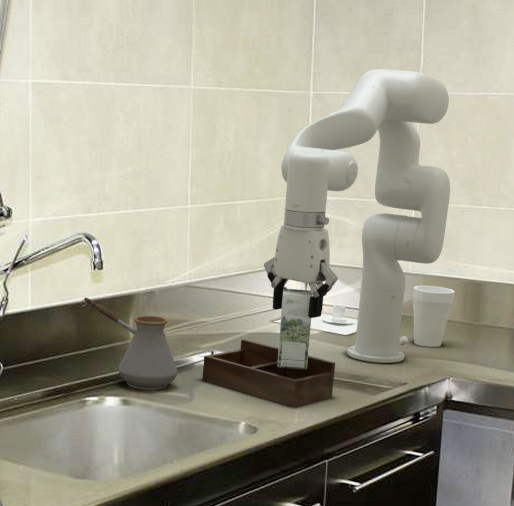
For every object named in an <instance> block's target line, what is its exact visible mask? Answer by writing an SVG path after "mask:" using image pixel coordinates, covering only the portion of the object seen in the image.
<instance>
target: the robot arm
mask: <svg viewBox="0 0 514 506" xmlns="http://www.w3.org/2000/svg"><path fill="white" fill-rule="evenodd" d="M449 99H450V98H449V91H448V90H447V87H446V86H445V84H444V83H443V82H441V81H440V80H437V79H435V78H434V77H431V76H430V75H428V74H425V73H422V72H420V71H416V70H415V71H414V70H403V69H387V68H375V69H370V70H368V71H365V72H364V73H363V74H362V75H361V76H360V77H359V79H358V80H357V82H356V83H355V85H354V87H352V89H351V91H350V92H349V94H348V95H347V96H346V98H345V100H344V101H343V103H342V104H341V106H340V108H339V109H338V110H336V111H334V112H331V113H329V114H327V115H325V116H323V117H321V118H320V119H317V120H315V121H313V122H312V123H309V124H307V125H306V126H305V127H303V128H302V129H301V130H300V131H299V132H298V133H297V134H296V135H295V137H294V138H293V140H292V141H291V142H290V144H289V146H288V148H287V149H286V151H285V153H284V155H283V158H282V161H281V166H280V171H281V175H282V178H283V180H284V182H286V190H285V191H286V192H285V193H286V194H285V203H284V215H283V224H281V226H280V229H279V233H278V237H277V241H276V247H275V252H274V256H273V257H272V258H271V259H269V260H267V261H265V262H264V264H263V268H264V270H265V272H266V274H267V278H268V280H269V282H270V287H271V288H272V289H273V293H272V310H275V311H276V310H282V298H283V289H288V287H286V284H287V283H288V281H295V282H299V283H302V284H303V283H304V284H308V286H309V290H311V292H312V294H313V296H312V297H310V302H309V313H308V316H309V318H315V317H320V316H321V313H323V308H324V307H323V305H324V297H326V296H327V295H328V293H329V292H330V291H331V290H332V289H333V287H334V286H335V284H336V283H337V281H338V279H339V278H338V277H339V276H338V275H336V273H335V271H333V270H332V269H331V267H330V263H331V262H330V260H331V258H330V257H331V253H330V251H331V249H330V237H329V230H328V229H326V228H325V225H328V224H329V223H330V218H329V217H327V216H326V211H327V210H326V209H327V199H328V191H329V192H330V191H331V192H344V191H346V190H348V189H350V188H351V187H352V186H353V185H354V183H356V181H357V178H358V172H359V166H358V163H357V160H356V159H355V157H354V156H353V154H351V153H349V152H348V151H347V152H346V151H343V150H342V149H349V148H352V147H356V146H360V145H363V144H366V143H367V142H369V141H371V140H372V139H373V138H374V136H375V135H376V134H377V132H378V136H379V149H378V158H377V168H376V174H375V182H374V183H375V185H374V197H375V200H376V202H377V203H378V204H379V205H381V206H383V207H387V208H392V209H393V208H394V209H398V210H399V209H400V210H408V211H415V212H416V211H417V212H420V214H421V217H417V216H408V215H403V214H393V213H377V214H373V215H371V216H369V217H368V218H367V219H366V220H365V222H364V223H363V226H362V230H361V247H362V272H361V284H360V293H359V300H358V301H359V302H358V310H357V311H358V312H357V330H356V332H355V341H354V345H352V346H350V347H348V348H347V349H346V354H347V356H348V357H350V358H353V359H355V360H360V361H363V362H370V363H377V364H378V363H379V364H393V363H401V362H402V361H404V359H405V353H404V352H402V351H401V350H400V347H401V346H405V345H407V344H408V343H409V338H408V337H407V336H405V335H404V336H400V335H401V327H402V326H401V325H402V319H403V318H402V317H403V310H404V309H403V307H404V299H405V290H406V276H405V272H404V270H403V268H402V267H401V264H400V261H402V262H410V263H417V264H425V265H427V264H428V265H429V264H432V263H435V262H436V261H438V259H439V258H440V256H441V254H442V251H443V247H444V241H445V235H446V229H447V219H448V212H449V205H450V196H451V181H450V178H449V175H448V173H447V171H445V170H444V169H443V168H441V167H437V166H431V165H421V164H420V161H419V160H420V150H421V138H420V135H419V132H418V131H417V128H416V126H415V125H414V123H415V124H416V123H417V124H427V125H428V124H429V125H434V124H437V123H439V122H441V120H443V119H444V117H445V116H446V114H447V111H448V108H449V104H450V103H449V102H450V100H449Z"/></svg>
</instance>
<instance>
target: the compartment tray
mask: <svg viewBox="0 0 514 506" xmlns="http://www.w3.org/2000/svg"><path fill="white" fill-rule="evenodd" d="M278 350H279V347H277V346H272V345H269V344H265V343H261V342H257V341H254V340H250V339H246V338H243V339H242V338H241V339H240V349H234V350H230V351H224V352H218V353H212V354H207V355H204V356H203V367H202V378H201V379H202V382H207V383H210V384H213V385H217V386H220V387H224V388H227V389H230V390H234V391H237V392H240V393H244V394H246V395H251V396H254V397H257V398H260V399H264V400H267V401H271V402H275V403H278V404H280V405H285V406H288V407H292V408H296V407H299V406H304V405H308V404H311V403H316V402H320V401H324V400H327V399H332V398H333V390H334V380H335V373H336V371H335V370H336V362H335V361H332V360H328V359H324V358H320V357H315V356H312V355H308V362H307V369H294V368H282V367H278Z"/></svg>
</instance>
